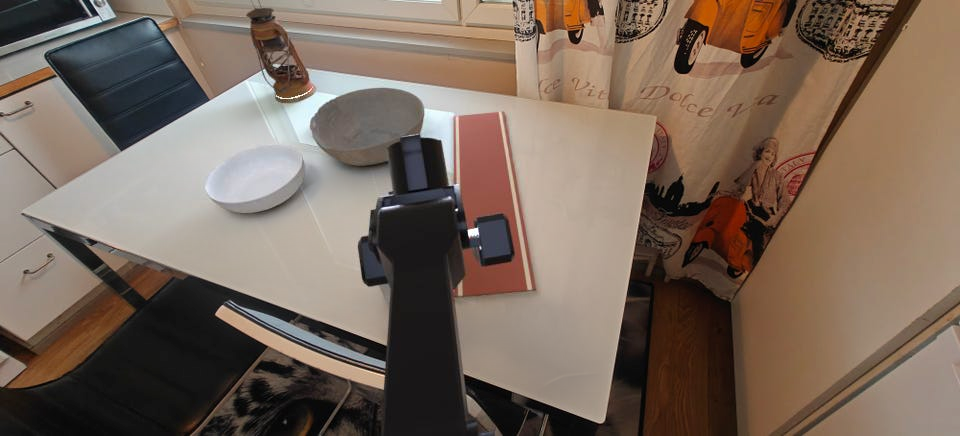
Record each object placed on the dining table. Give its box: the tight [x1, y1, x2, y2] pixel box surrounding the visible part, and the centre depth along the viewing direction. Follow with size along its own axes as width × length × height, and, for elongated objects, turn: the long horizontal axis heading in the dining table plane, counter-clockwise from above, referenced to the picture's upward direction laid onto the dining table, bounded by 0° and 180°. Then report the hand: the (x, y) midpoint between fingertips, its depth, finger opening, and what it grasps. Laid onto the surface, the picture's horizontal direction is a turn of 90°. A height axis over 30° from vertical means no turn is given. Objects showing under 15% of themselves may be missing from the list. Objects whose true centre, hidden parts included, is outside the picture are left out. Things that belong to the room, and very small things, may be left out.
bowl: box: [309, 87, 425, 167], centre depth 102 cm, size 28×28×10 cm
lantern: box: [245, 0, 317, 104], centre depth 121 cm, size 17×13×30 cm
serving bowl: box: [204, 143, 306, 214], centre depth 92 cm, size 21×21×7 cm
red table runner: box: [453, 111, 537, 298], centre depth 91 cm, size 60×14×1 cm, turn 3°
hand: (441, 253), depth 59 cm, fingers open, 9 cm apart
